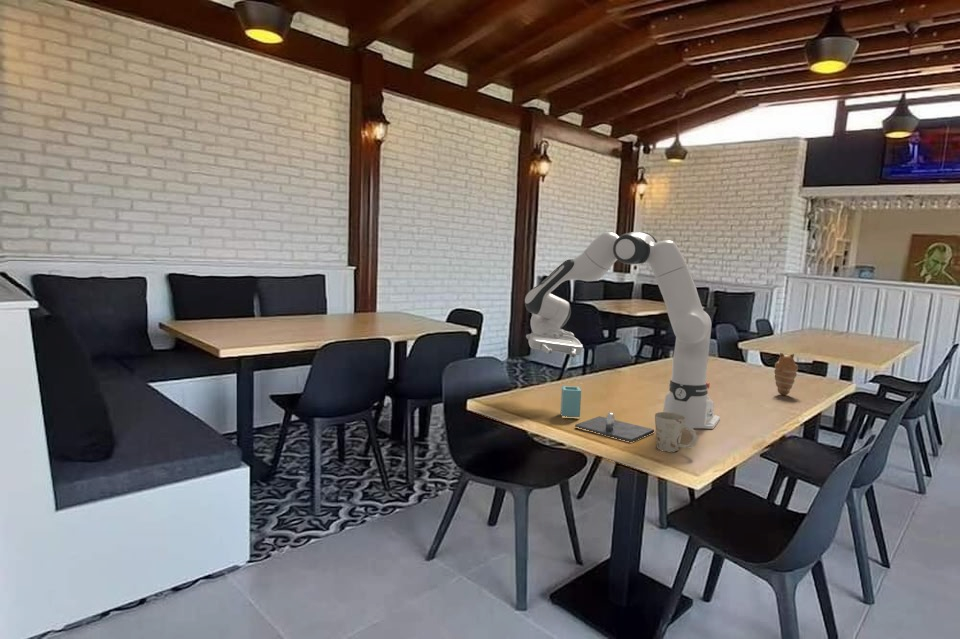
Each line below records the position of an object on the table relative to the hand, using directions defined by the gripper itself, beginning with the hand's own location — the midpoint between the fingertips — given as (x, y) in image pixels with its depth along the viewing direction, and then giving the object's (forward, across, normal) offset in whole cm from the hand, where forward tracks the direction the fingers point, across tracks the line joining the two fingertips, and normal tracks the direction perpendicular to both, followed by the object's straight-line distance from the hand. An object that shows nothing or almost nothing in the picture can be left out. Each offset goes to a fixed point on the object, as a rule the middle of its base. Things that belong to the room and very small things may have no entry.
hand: (561, 354), depth 207 cm
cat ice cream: (-8, +108, +9) cm, 108 cm away
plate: (+30, +11, +11) cm, 34 cm away
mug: (+49, +20, +4) cm, 53 cm away
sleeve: (+14, +4, +17) cm, 22 cm away
